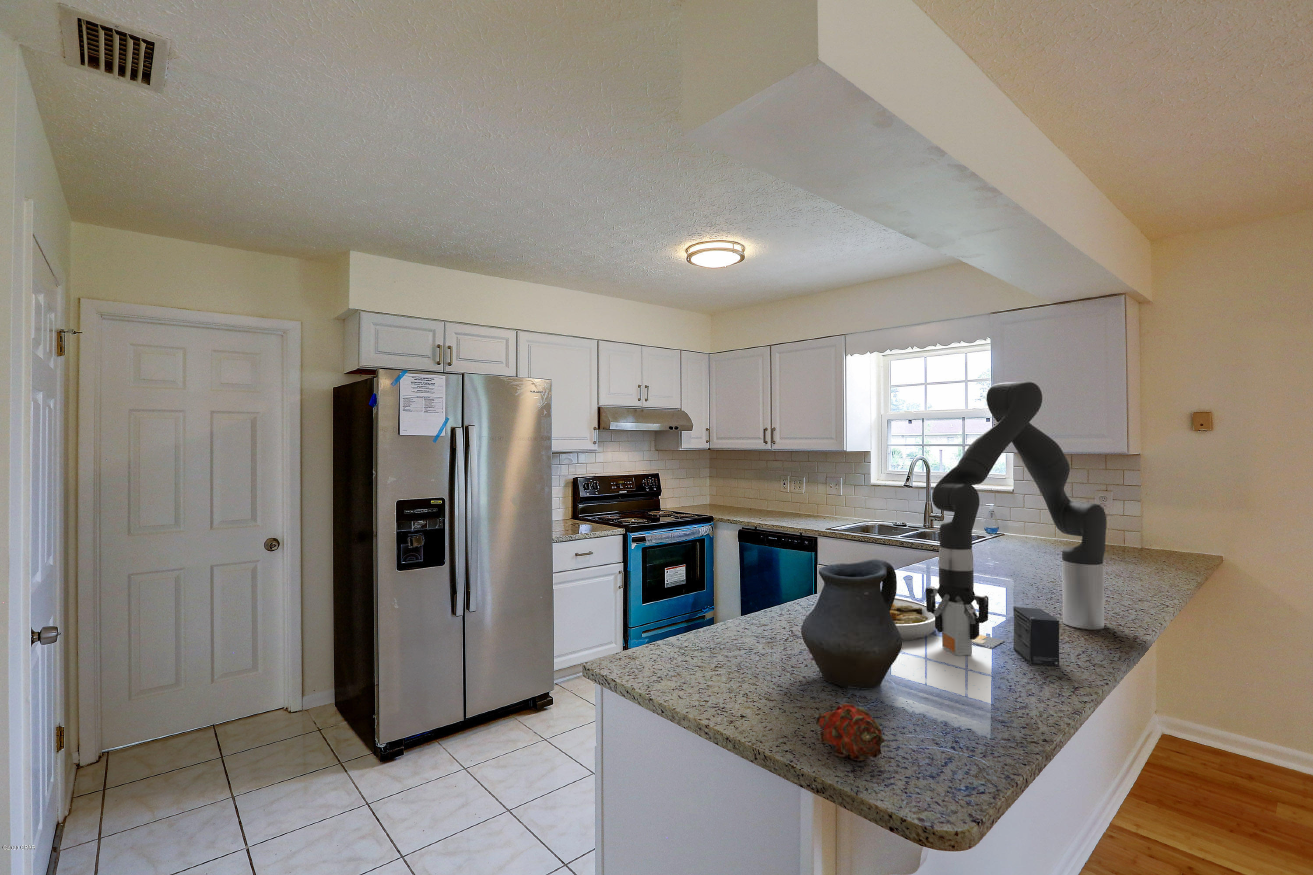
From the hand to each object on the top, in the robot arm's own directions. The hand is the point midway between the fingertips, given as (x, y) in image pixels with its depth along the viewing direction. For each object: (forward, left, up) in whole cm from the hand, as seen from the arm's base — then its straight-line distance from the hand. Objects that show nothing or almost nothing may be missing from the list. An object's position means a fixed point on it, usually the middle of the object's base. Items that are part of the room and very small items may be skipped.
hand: (956, 634), depth 147 cm
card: (-12, 0, -4) cm, 13 cm away
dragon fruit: (+62, +9, -4) cm, 63 cm away
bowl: (-5, -23, -4) cm, 24 cm away
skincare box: (0, 0, -4) cm, 4 cm away
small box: (-9, +14, -4) cm, 17 cm away
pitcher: (+34, -7, -4) cm, 35 cm away
